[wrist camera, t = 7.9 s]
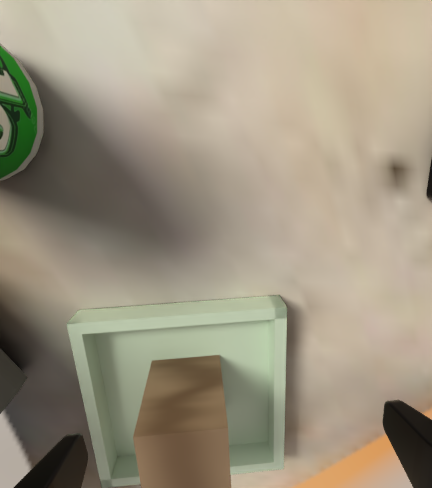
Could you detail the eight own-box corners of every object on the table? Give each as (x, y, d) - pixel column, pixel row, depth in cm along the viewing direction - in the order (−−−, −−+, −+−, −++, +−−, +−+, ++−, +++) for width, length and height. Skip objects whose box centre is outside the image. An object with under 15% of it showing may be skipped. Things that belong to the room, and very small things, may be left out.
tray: (279, 295, 19) (287, 307, 18) (277, 446, 23) (283, 468, 21) (78, 309, 19) (66, 324, 17) (109, 463, 22) (101, 488, 21)
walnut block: (219, 354, 20) (228, 428, 14) (222, 409, 22) (231, 496, 16) (151, 360, 20) (132, 437, 14) (158, 415, 21) (144, 505, 16)
